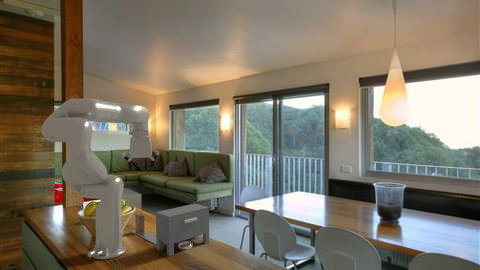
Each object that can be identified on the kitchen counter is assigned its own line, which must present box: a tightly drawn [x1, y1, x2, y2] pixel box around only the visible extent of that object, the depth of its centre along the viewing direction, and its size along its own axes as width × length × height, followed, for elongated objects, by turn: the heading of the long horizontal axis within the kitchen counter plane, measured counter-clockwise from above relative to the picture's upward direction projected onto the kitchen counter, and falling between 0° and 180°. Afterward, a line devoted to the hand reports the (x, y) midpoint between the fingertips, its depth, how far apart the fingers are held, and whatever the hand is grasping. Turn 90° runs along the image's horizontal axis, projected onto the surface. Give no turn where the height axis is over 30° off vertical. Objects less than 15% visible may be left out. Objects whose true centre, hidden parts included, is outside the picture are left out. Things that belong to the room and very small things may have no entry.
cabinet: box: [155, 203, 210, 257], centre depth 127 cm, size 20×11×16 cm, turn 135°
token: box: [178, 240, 194, 251], centre depth 127 cm, size 6×6×2 cm
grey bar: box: [130, 213, 156, 245], centre depth 140 cm, size 5×23×9 cm, turn 44°
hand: (141, 169), depth 145 cm, fingers open, 9 cm apart
